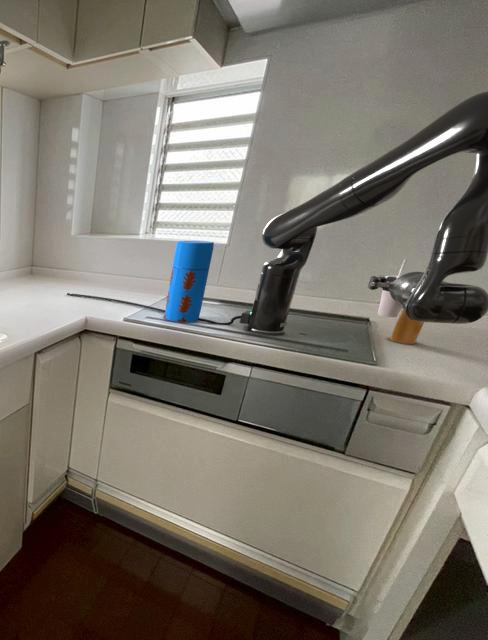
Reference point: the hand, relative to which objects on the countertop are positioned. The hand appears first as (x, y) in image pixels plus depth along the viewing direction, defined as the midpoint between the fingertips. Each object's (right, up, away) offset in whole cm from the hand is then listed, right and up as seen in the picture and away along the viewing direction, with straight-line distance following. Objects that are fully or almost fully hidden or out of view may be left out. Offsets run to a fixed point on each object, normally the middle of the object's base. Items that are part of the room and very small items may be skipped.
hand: (397, 280), depth 103 cm
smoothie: (-1, -9, +1) cm, 9 cm away
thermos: (-39, -5, +35) cm, 52 cm away
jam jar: (+12, -15, +11) cm, 22 cm away
